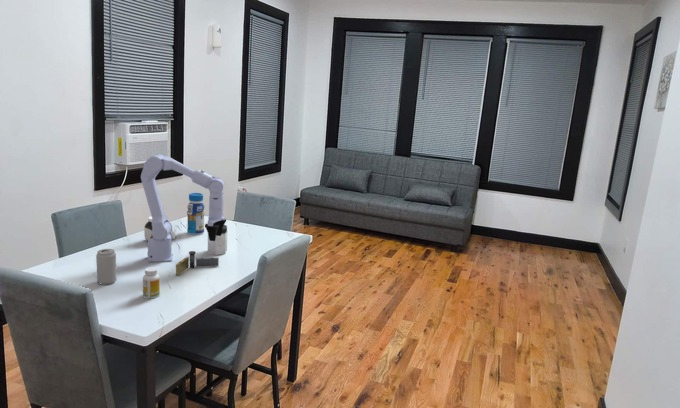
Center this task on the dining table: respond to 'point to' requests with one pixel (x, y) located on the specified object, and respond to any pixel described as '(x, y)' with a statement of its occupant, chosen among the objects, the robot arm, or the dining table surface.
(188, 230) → the beverage bottle
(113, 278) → the beverage can
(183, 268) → the brass leaf
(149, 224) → the spread jar
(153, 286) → the supplement bottle
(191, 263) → the hinge base
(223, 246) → the jar
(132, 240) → the dining table surface
